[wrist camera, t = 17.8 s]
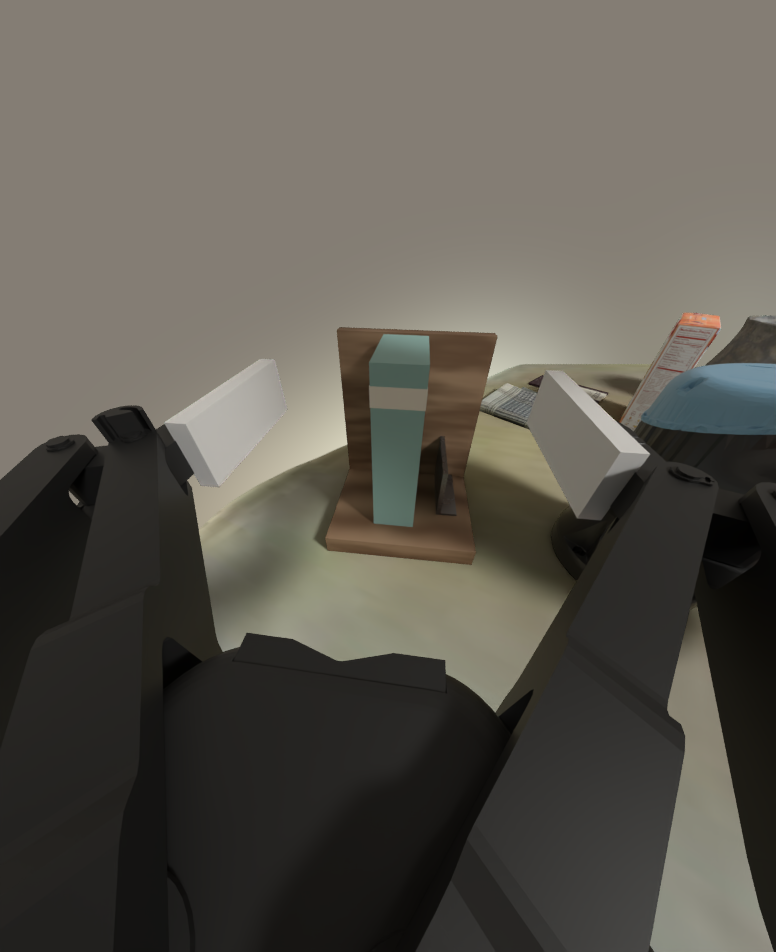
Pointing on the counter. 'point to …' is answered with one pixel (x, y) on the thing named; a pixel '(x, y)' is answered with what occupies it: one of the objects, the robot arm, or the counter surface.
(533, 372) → the counter surface
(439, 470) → the bookend
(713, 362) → the vessel
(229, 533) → the counter surface
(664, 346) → the cracker box
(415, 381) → the book
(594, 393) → the chocolate bar
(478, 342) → the brown angled piece
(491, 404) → the dish towel
